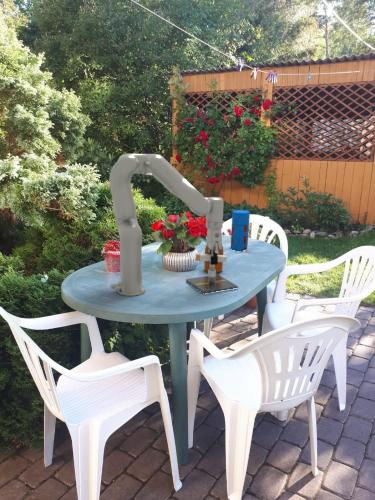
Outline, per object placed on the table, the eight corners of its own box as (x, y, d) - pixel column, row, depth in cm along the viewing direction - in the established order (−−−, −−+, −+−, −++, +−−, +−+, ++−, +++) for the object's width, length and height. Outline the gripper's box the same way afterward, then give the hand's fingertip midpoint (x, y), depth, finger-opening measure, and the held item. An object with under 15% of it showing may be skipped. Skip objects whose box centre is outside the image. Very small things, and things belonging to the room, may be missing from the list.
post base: (203, 294, 166) (204, 278, 164) (186, 281, 182) (186, 266, 180) (237, 289, 174) (238, 273, 172) (217, 277, 189) (218, 262, 187)
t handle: (225, 270, 173) (226, 256, 172) (195, 268, 175) (195, 254, 174) (226, 268, 176) (226, 255, 174) (195, 266, 178) (196, 253, 176)
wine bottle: (223, 269, 203) (226, 214, 195) (220, 274, 194) (223, 217, 186) (206, 267, 205) (208, 213, 197) (202, 272, 196) (204, 216, 188)
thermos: (227, 248, 245) (229, 210, 238) (241, 247, 249) (243, 209, 242) (236, 252, 235) (238, 213, 228) (250, 251, 240) (253, 212, 233)
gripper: (227, 228, 163) (225, 268, 168) (217, 221, 178) (215, 257, 183) (210, 228, 161) (209, 268, 166) (202, 221, 177) (201, 258, 182)
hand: (212, 262), depth 175 cm, fingers closed on t handle, 3 cm apart
